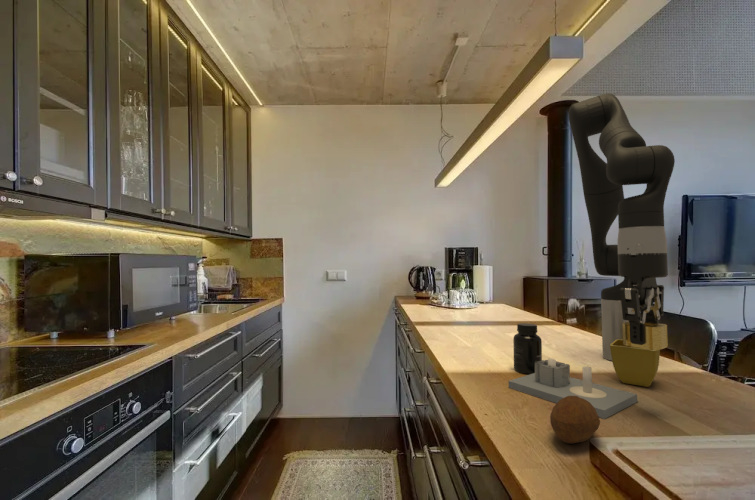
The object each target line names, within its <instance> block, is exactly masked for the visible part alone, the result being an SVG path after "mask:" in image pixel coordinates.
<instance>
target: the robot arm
mask: <svg viewBox="0 0 755 500" xmlns="http://www.w3.org/2000/svg"><path fill="white" fill-rule="evenodd" d="M568 120H569V125H570V131H571V134H572V138H573V142H574V146H575V150H576V151H575V152H576V156H577V160H578V164H579V170H580V178H581V184H582V192H583V197H584V198H583V199H584V203H585V208H586V212H587V216H588V221H589V222H588V223H589V228H590V235H591V236H590V237H591V244H592V245H591V246H592V255H593V257H592V258H593V263H594V268H595V271H596V273H597V274H598V275H600V276H604V277H605V276H606V277H610V276H611V277H621V278H622V277H623V280H622V281H621V282H620V283H617V284H616V285H613V286H609V287H606V288H603V289H601V292H600V300H601V302H600V304H601V305H600V306H601V307H600V308H601V335H602V336H601V340H602V341H601V343H602V345H601V346H602V357H603V358H604V360H605V359H606V360H608V361H612V356H611V350H610V344H611V343H613V342H614V341H615V340H616V339H619V340H623V323H625V322H629V323H630V342H631V343H633V344H638V345H643V344H645V324H644V323H645V322H651V323H659V321H660V319H661V316H662V317H663V316H664V304H665V303H664V300H665V299H664V298H665V297H664V296H665V287H664V285H663V284H657V278H665V277H668V274H669V273H668V271H669V270H668V248H667V247H668V246H667V245H668V241H667V235H666V231H665V213H664V211H665V209H664V206H665V199H666V196H667V192H668V191H667V190H668V187H669V184H670V180H671V177H672V174H673V171H674V169H675V161H676V160H675V156H674V153H673V152H672V150H671V149H670V148H669V147H668V146H665V145H663V144H659V145H658V144H655V145H647V144H646V141H645V139H644V138H643V137H642V135H641V134H640V133H639V132H638V131H637V130H636V129H635V128H634V127H633V126H632V125H631V123H630V121H629V118H628V117H627V114H626V112H625V110H624V108H623V106H622V104H621V102H620V100H619V99H618V97H617V96H616V95H615V94H613V93H611V92H609V93H608V92H607V93H604V94H600V95H596V96H593V97H591V98H588V99H585V100H581V101H579V102H575V103H573V104H571V105H570V106H569V109H568ZM599 134H600V135H599ZM595 135H599V137H598V146H599V149H600V151H601V153H602V154H603V156H604V157H605V158H606V161H605V160H604V159H602V157H600V156H599V155H598V154H597V153H596V151H595V150H594V148H593V147H592V145H591V144H590V140H589V137H592V136H595ZM632 185H646V188H645V190H644V192H643V193H641V194H637V195H633V196H629V197H625V194H624V186H632ZM616 218H617V219H618V220H617V221H618V233H617V244H607V235H608V232H609V230H610V229H611V226H612V225H613V223H614V221H615V220H616Z"/></svg>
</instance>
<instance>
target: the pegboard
mask: <svg viewBox="0 0 755 500" xmlns="http://www.w3.org/2000/svg"><path fill="white" fill-rule="evenodd" d="M547 360H548V365H549V366H556V361H557V360H556V359H555V358H547ZM581 369H582V379H579V378H576V377H572V376H570V384H568V385H566V386H563V387H560V388H556V387H554V386H548V385H544V384H541V383H539V382H536V381H535V373H533V374H526V375H522V376H520V377H518V378H514V379H510V380H508V383H507V384H508V389H511V390H515V391H518V392H521V393H525V394H528V395H530V396H533V397H537V398H539V399H543V400H545V401H549V402H551V403H555V404H557V403H558V402H559V400H561V399H563V398H565V397H567V396H578V397H580V398H583V399H585V400H587V401H588V402H590V403H591V404H592V406H593V407H594V408H595V409H596V412H597V414H598V417H599V419H600V418H601V419H604V420H605V419H607V418H609V417H610V416H613V415H615V414H617V413H618V412H619V413H620V412H621V411H622V410H624V409H626V408H628V407H631V406H632V405H634V404H636V403H638V393H634V392H630V391H627V390H622V389H618V388H614V387H611V386H607V385H603V384H599V383H596V382H593V380H592V379H593V378H592V374H593V373H592V367H591V366H582V368H581Z"/></svg>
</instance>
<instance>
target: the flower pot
mask: <svg viewBox="0 0 755 500" xmlns="http://www.w3.org/2000/svg"><path fill="white" fill-rule="evenodd" d="M610 350H611V356H612V366H613V369H614V371H615V373H616V375H617V378H619V380H620V381H621V383H623V384H629V385H635V386H640V387H643V388H644V387H646V388H648V387H650V386H651V385H652V383H653V381H654V379H655V377H656V375H657V373H658V370H659V365H660V354H661V349H659V350H652V349H644V348H637V347H631V346H626V345H624V344H623V340H619V339H616V340H615V341H614V342H613V343H611V344H610Z"/></svg>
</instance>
